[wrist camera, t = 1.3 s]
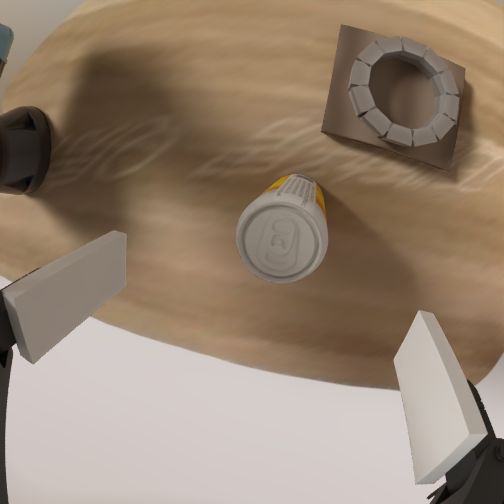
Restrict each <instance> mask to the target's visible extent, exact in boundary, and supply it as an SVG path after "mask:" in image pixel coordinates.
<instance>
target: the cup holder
mask: <svg viewBox="0 0 504 504" xmlns="http://www.w3.org/2000/svg"><path fill="white" fill-rule="evenodd" d="M464 80H465V68H463V67H461V66H459V65H457V64H455V63H453V62H451V61H449V60H447V59H444V58H442V57H440V56H438V55H437V54H436V53H435V52H434V51H433V50H432V49H431V48H429V49H428V50H427V51H426V45H424V44H422V43H419V42H416V41H414V40H411V39H408V38H406V37H402V38H401V39H400V37H399V36H396V37H386V36H383V35H380V34H376V33H373V32H369V31H366V30H362V29H358V28H354V27H350V26H346V25H342V24H341V28H340V34H339V40H338V46H337V51H336V57H335V63H334V68H333V74H332V79H331V85H330V90H329V95H328V100H327V105H326V110H325V115H324V120H323V125H322V130H321V132H325V133H329V134H333V135H337V136H340V137H344V138H348V139H352V140H355V141H359V142H362V143H366V144H369V145H373V146H376V147H379V148H382V149H386V150H389V151H392V152H395V153H398V154H401V155H404V156H407V157H410V158H412V159H415V160H418V161H421V162H424V163H426V164H429V165H432V166H434V167H437V168H439V169H443V170H447V171H449V170H450V166H451V161H452V157H453V152H454V147H455V142H456V137H457V131H458V126H459V119H460V113H461V106H462V98H463V90H464Z"/></svg>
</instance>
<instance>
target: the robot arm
mask: <svg viewBox="0 0 504 504" xmlns="http://www.w3.org/2000/svg"><path fill="white" fill-rule="evenodd" d="M13 39H14V34H13V31H12V29H11V28H9V27H8V26H5V25H3V24H0V77H1V74H2V72H3V69H4V66H5V64H6V63H7V57H8V54H9V51H10V48H11V45H12V42H13ZM49 158H50V134H49V128H48V124H47V121H46V119H45V117H44V115H43V114H42V112H41V111H40V110H39V109H38V108H36V107H33V106H24V107H18V108H15V109H13V110H11V111H9V112H7V113H5V114H2V115H0V193H7V194H15V195H22V194H26V193H29V192H32V191H34V190H35V189H37V188H38V187H39V185H40V184H41V182H42V181H43V179H44V177H45V174H46V171H47V168H48V164H49ZM126 247H127V234H126V233H122V232H119V231H115V230H113V231H111V232H109V233H107V234H105V235H103V236H101V237H99V238H97V239H95V240H93V241H91V242H89V243H87V244H85V245H83V246H81V247H79V248H77V249H75V250H73V251H71V252H69V253H67V254H66V255H64V256H62V257H60V258H58V259H56V260H54V261H52V262H51V263H49V264H47V265H45V266H43V267H40V268H38V269H36V270H34V271H32V272H30V273H29V275H28V274H27V275H25V276H23V277H22V279H18V280H16V281H15V282H13V283H11V284H10V285H8V286H6V287H5V288H3V289H1V290H0V504H9V503H8V494H7V484H6V467H5V423H6V408H7V396H8V387H9V379H10V371H11V365H12V359H13V350H12V346H13V345H14V344H16V343H17V346H18V349H19V352H20V355H21V356H22V357H24V358H25V359H26V360H27V361H29V362H30V363H32V364H34V363H36V362H37V361H38V360H39V359H40V358H41V357H42V356H43V355H45V354H46V353H47V352H48V351H49V350H50V349H52V348H53V347H54V346H55V345H56V344H57V343H58V342H60V341H61V340H62V339H63V338H64V337H66V336H67V335H68V334H69V333H70V332H71V331H72V330H74V329H75V328H76V327H77V326H78V325H80V324H81V323H82V322H83V321H85V320H86V319H87V318H88V317H89V316H91V315H92V314H93V313H94V312H95V311H97V310H98V309H99V308H100V307H102V306H103V305H104V304H105V303H106V302H108V301H109V300H110V299H111V298H113V297H114V296H115V295H116V294H118V293H119V292H120V291H121V290H123V289H124V288H125V287H126ZM394 365H395V369H396V373H397V377H398V382H399V386H400V391H401V396H402V401H403V406H404V410H405V416H406V421H407V427H408V433H409V439H410V446H411V452H412V460H413V468H414V476H415V484H434V483H435V482H436V481H437V480H439V479H440V478H441V477H442V476H444V475H445V476H446V481H447V482H446V483H444V484H443V485H442V486H441V487H439V488H438V489H437V490H435V491H434V492H433V493H431V494H430V495H429V496H428V497H427V499H430V498H431V497H433V496H434V495H435V497H434V498H433V500H432V501H431V503H430V504H504V439H502V438H496V436H495V433H494V430H493V428H492V425H491V422H490V420H489V417H488V415H487V412H486V410H484V405H483V403H482V402H481V398H480V396H479V394H478V391H477V389H476V388H475V387H474V385H473V384H472V383H471V382H470V381H469V380H466V378H465V376H464V374H463V371H462V369H461V367H460V365H459V363H458V361H457V359H456V357H455V354H454V352H453V350H452V348H451V346H450V344H449V342H448V340H447V338H446V336H445V335H444V333H443V331H442V329H441V327H440V325H439V323H438V321H437V319H436V318H435V316H434V314H433V313H430V312H425V311H421V310H419V311H418V313H417V315H416V317H415V319H414V321H413V323H412V325H411V327H410V329H409V331H408V333H407V335H406V337H405V339H404V341H403V343H402V345H401V347H400V349H399V350H398V352H397V354H396V356H395V358H394Z"/></svg>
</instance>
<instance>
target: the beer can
mask: <svg viewBox="0 0 504 504" xmlns="http://www.w3.org/2000/svg"><path fill="white" fill-rule="evenodd" d="M236 243H237V248H238V251H239V254H240V257H241V259H242V261H243V263H244V264H245V266H246V267H247V268H248V269H249V270H250V271H251V272H252V273H253V274H254V275H256V276H257V277H259V278H261V279H263V280H265V281H268V282H271V283H277V284H286V283H292V282H295V281H298V280H300V279H302V278H304V277H306V276H308V275H309V274H311V273H312V272H313V271H314V270H315V269H316V268H317V267H318V266H319V265H320V264H321V262H322V260H323V259H324V257H325V254H326V251H327V247H328V229H327V219H326V210H325V201H324V196H323V193H322V190H321V188H320V187H319V185H318V184H317V183H316V182H315V181H314V180H312V179H311V178H309V177H307V176H304V175H300V174H291V175H286V176H284V177H282V178H280V179H279V180H277V181H276V182H275V183H274V184H273V185H271V186H270V187H269V188H268V189H267V190H266V191H264V192H263V193H262V194H261V195H260V196H259V197H257V198H256V199H255V200H254V201H253V202H252V203H251V204H249V205H248V206H247V207H246V209H245V210H244V211H243V213H242V214H241V216H240V218H239V221H238V224H237V228H236Z"/></svg>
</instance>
